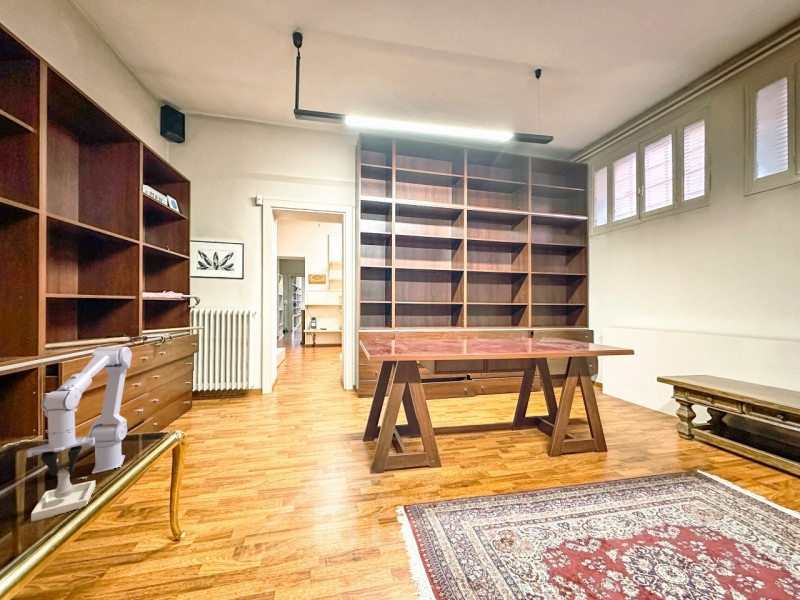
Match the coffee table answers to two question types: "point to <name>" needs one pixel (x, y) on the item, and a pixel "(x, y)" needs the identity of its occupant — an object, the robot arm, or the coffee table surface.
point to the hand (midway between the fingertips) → (63, 472)
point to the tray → (63, 501)
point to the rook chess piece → (63, 484)
